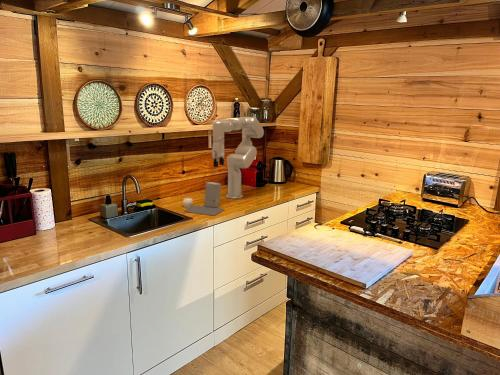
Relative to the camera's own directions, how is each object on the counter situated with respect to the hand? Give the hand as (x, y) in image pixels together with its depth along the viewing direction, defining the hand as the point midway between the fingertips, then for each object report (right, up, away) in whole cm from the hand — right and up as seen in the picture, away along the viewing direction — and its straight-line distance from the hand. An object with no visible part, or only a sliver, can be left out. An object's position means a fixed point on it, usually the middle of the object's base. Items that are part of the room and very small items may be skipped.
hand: (218, 165), depth 259 cm
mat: (-8, -30, -13) cm, 33 cm away
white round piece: (-20, -27, -3) cm, 34 cm away
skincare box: (-4, -27, -3) cm, 28 cm away
